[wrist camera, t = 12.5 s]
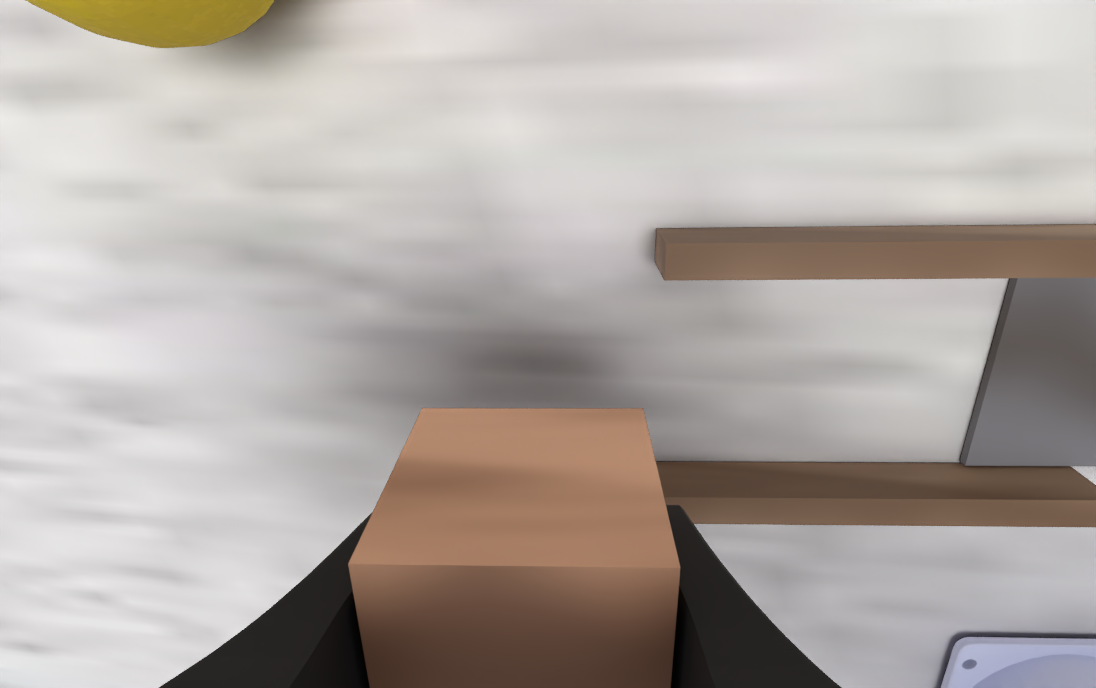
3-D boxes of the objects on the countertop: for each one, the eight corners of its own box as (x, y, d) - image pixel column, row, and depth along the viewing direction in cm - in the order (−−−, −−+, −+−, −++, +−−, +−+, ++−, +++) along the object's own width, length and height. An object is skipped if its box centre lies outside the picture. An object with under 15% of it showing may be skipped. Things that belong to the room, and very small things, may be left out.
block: (635, 582, 14) (662, 787, 10) (440, 579, 14) (386, 781, 10) (643, 408, 12) (680, 567, 8) (422, 408, 12) (347, 563, 8)
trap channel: (1103, 488, 21) (1155, 527, 19) (643, 486, 21) (650, 523, 19) (1206, 222, 17) (1282, 238, 15) (656, 228, 18) (666, 243, 16)
